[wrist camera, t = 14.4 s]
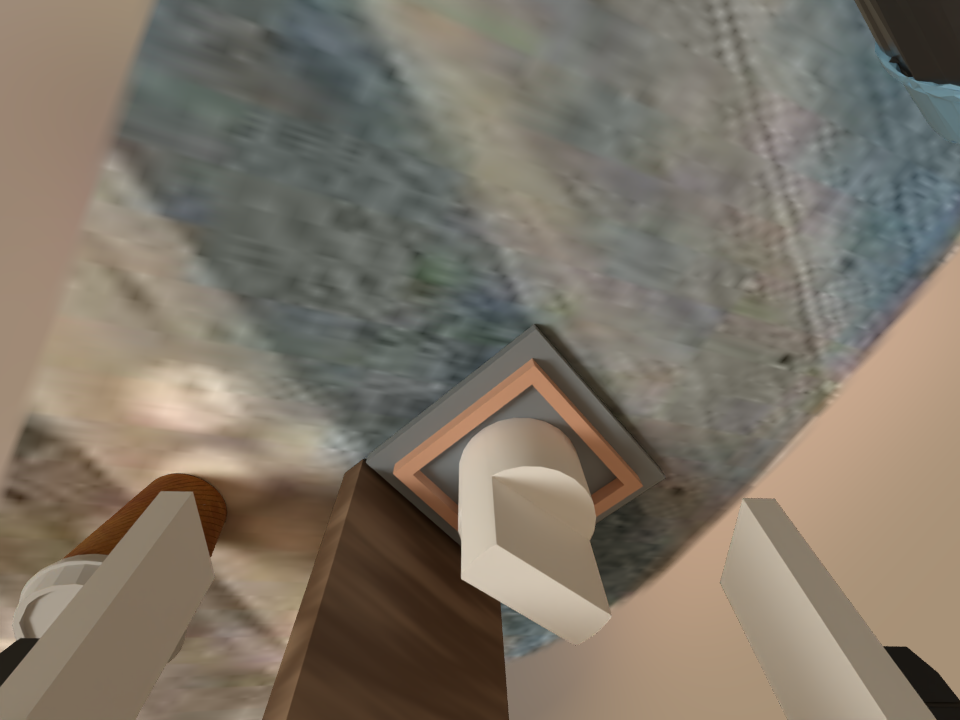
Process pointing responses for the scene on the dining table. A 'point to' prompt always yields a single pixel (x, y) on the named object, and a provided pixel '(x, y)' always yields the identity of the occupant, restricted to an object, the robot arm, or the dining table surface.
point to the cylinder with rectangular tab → (531, 527)
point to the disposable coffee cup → (71, 573)
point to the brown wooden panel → (390, 621)
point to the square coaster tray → (504, 395)
